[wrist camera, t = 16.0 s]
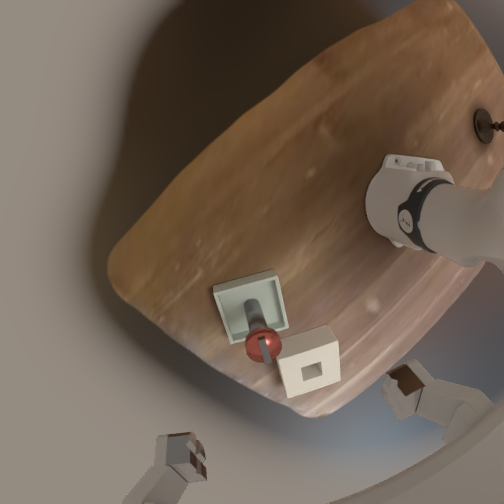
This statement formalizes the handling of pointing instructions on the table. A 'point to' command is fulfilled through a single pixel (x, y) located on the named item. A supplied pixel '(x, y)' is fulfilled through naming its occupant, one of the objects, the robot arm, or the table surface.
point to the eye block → (309, 361)
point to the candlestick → (485, 126)
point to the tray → (242, 289)
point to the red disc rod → (260, 335)
